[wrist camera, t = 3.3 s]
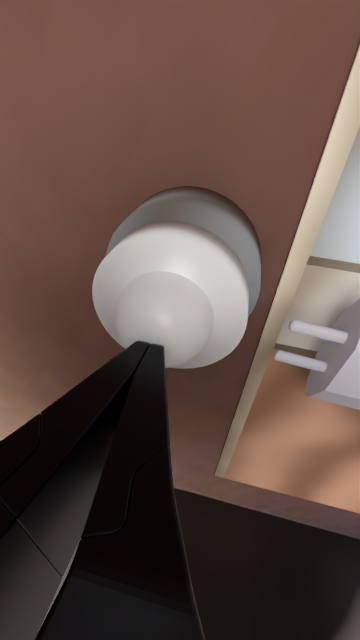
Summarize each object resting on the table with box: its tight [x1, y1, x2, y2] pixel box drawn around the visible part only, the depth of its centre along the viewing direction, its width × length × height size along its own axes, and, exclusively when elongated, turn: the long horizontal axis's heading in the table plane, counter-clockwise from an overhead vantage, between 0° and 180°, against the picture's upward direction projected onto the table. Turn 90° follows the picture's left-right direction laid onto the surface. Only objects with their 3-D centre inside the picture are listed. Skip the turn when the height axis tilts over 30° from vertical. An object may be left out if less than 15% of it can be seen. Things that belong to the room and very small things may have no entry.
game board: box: [106, 44, 360, 513], centre depth 15 cm, size 23×29×2 cm
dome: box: [92, 221, 249, 369], centre depth 10 cm, size 6×6×3 cm
